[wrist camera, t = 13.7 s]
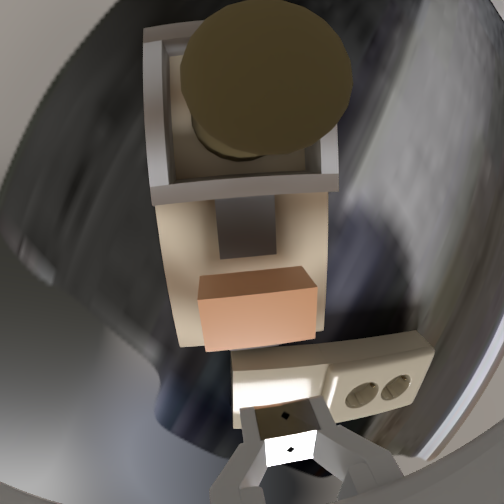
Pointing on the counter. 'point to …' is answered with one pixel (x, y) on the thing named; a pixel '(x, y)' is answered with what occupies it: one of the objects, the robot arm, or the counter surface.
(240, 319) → the block
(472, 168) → the counter surface
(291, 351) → the electrical outlet
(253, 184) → the rail panel
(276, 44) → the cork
